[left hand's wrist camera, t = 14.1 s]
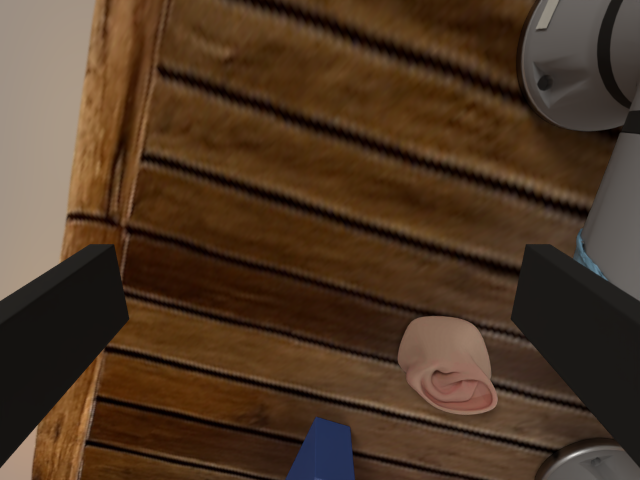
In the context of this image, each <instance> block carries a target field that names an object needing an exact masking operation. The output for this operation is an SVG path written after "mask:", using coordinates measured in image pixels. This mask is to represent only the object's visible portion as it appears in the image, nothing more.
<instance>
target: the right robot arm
mask: <svg viewBox="0 0 640 480" xmlns="http://www.w3.org/2000/svg"><path fill="white" fill-rule="evenodd" d="M535 480H640V468H639V467H638V465H637V464H636V463H635V462H634V461H633V460H632V459H631V457H630V456H629V455H628V454H627V453H626V452H625V450H624V449H623V448H622V447H621V446H620V445H619V444H618V442H617V441H616V440H612V439H602V438H599V439H588V440H583V441H579V442H576V443H573V444H570V445H568V446H566V447H564V448H562V449H560V450H558V451H557V452H555V453H554V454H553V455H551V456H550V457H549V458H548V459H547V460H546V461H545V462H544V463H543V464H542V466H541V467H540V468H539V470H538V472H537V474H536V477H535Z"/></svg>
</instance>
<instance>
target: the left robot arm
mask: <svg viewBox="0 0 640 480" xmlns="http://www.w3.org/2000/svg"><path fill="white" fill-rule="evenodd" d="M517 75H518V80H519V84H520V88H521V91H522V93H523V95H524V97H525V99H526V101H527V103H528V104H529V106H530V107H531V108H532V109H533V110H534V112H535V113H536V114H537V115H539V116H540V117H541V118H542V119H544V120H545V121H547V122H548V123H550V124H552V125H555V126H557V127H560V128H564V129H570V130H578V131H598V130H606V129H611V128H616V127H619V126H622V125H624V126H623V128H622V131H621V132H622V133H620V134H619V137H618V140H617V142H616V145H615V147H614V150H613V153H612V155H611V158H610V160H609V163H608V166H607V168H606V171H605V173H604V176H603V179H602V181H601V184H600V187H599V189H598V192H597V194H596V197H595V200H594V202H593V205H592V207H591V210H590V212H589V215H588V217H587V220H586V222H585V225H584V227H583V228H582V229H581V230H580V231H579V233H578V236H577V240H576V243H577V247H576V250H575V253H574V257H573V259H572V258H571V257H569V256H568V255H566V254H564V253H563V252H561V251H560V250H558V249H557V248H555V247H553V246H552V245H550V244H526V247H525V252H524V257H523V261H522V266H521V271H520V276H519V281H518V286H517V291H516V296H515V300H514V305H513V310H512V315H511V320H512V321H513V322H514V323H515V325H516V326H517V327H518V328H519V329H520V330H521V332H522V333H523V334H524V335H525V336H526V337H527V339H528V340H529V341H530V342H531V343H532V344H533V345H534V347H535V348H536V349H537V350H538V351H539V352H540V354H541V355H542V356H543V357H544V358H545V359H546V360H547V362H548V363H549V364H550V365H551V366H552V367H553V369H554V370H555V371H556V372H557V373H558V374H559V375H560V377H561V378H562V379H563V380H564V381H565V382H566V384H567V385H568V386H569V387H570V388H571V389H572V390H573V392H574V393H575V394H576V395H577V396H578V397H579V399H580V400H581V401H582V402H583V403H584V404H585V405H586V407H587V408H588V409H589V410H590V411H591V412H592V414H593V415H594V416H595V417H596V418H597V419H598V420H599V422H600V423H601V424H602V425H603V426H604V427H605V429H606V430H607V431H608V432H609V433H610V434H611V435H612V437H613V438H614V439H615V440H616V441H617V442H618V444H619V445H620V446H621V447H622V448H623V449H624V450H625V452H626V453H627V454H628V455H629V456H630V457H631V459H632V460H633V461H634V462H635V463H636V464H637V465H638V467H639V468H640V0H536V1H535V3H534V4H533V6H532V8H531V10H530V12H529V14H528V16H527V18H526V20H525V22H524V25H523V28H522V31H521V35H520V38H519V43H518V48H517ZM128 320H129V315H128V310H127V305H126V300H125V296H124V291H123V286H122V281H121V276H120V271H119V266H118V261H117V257H116V252H115V247H114V244H90V245H88V246H87V247H85V248H83V249H82V250H80V251H79V252H77V253H76V254H74V255H72V256H71V257H69V258H68V259H66V260H64V261H63V262H61V263H60V264H58V265H57V266H55V267H53V268H52V269H50V270H49V271H47V272H46V273H44V274H42V275H41V276H39V277H38V278H36V279H34V280H33V281H31V282H30V283H28V284H27V285H25V286H23V287H22V288H20V289H19V290H17V291H15V292H14V293H12V294H11V295H9V296H8V297H6V298H4V299H3V300H1V301H0V468H1V467H2V465H3V464H4V463H5V462H6V461H7V460H8V459H9V457H10V456H11V455H12V454H13V453H14V452H15V450H16V449H17V448H18V447H19V446H20V445H21V444H22V442H23V441H24V440H25V439H26V438H27V437H28V435H29V434H30V433H31V432H32V431H33V430H34V429H35V427H36V426H37V425H38V424H39V423H40V422H41V420H42V419H43V418H44V417H45V416H46V415H47V414H48V412H49V411H50V410H51V409H52V408H53V407H54V405H55V404H56V403H57V402H58V401H59V400H60V399H61V397H62V396H63V395H64V394H65V393H66V392H67V390H68V389H69V388H70V387H71V386H72V385H73V384H74V382H75V381H76V380H77V379H78V378H79V377H80V375H81V374H82V373H83V372H84V371H85V370H86V369H87V367H88V366H89V365H90V364H91V363H92V362H93V360H94V359H95V358H96V357H97V356H98V355H99V354H100V352H101V351H102V350H103V349H104V348H105V347H106V345H107V344H108V343H109V342H110V341H111V340H112V339H113V337H114V336H115V335H116V334H117V333H118V332H119V330H120V329H121V328H122V327H123V326H124V325H125V323H126V322H127V321H128Z"/></svg>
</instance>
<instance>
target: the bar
mask: <svg viewBox="0 0 640 480" xmlns="http://www.w3.org/2000/svg"><path fill="white" fill-rule="evenodd" d="M285 480H355V476H354V465H353V454H352V443H351V432H350V427H349V426H345V425H342V424H339V423H335V422H332V421H328V420H325V419H322V418H318V417H316V418H315V420H314V422H313V424H312V426H311V428H310V430H309V432H308V434H307V436H306V438H305V440H304V442H303V444H302V446H301V449H300V451H299V453H298V455H297V457H296V459H295V461H294V463H293V465H292V467H291V469H290V471H289V473H288V475H287V477H286V479H285Z"/></svg>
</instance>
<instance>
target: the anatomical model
mask: <svg viewBox="0 0 640 480" xmlns="http://www.w3.org/2000/svg"><path fill="white" fill-rule="evenodd" d="M398 363H399V365H400V367H401V368H402V369H403V370H404V372H405V373H406V380H407V382H408V384H409V385H410V386H411V387H412V388H413V389H414V390H415V391H416V392H417V393H418V394H419V395H420V396H421V397H422V398H423V399H425V400H426V401H427V402H428V403H429V404H431V405H432V406H434V407H435V408H437V409H440V410H442V411H445V412H449V413H454V414H461V415H471V414H479V413H484V412H487V411H490V410H492V409H493V408H494V407H495V406H496V405H497V402H498V397H497V393H496V390H495V388H494V386H493V384H492V382H491V381H490V378H491V366H490V360H489V356H488V352H487V349H486V345H485V343H484V340H483V338H482V336H481V334H480V332H479V330H478V329H477V328H476V327H475V326H474V325H473V324H471V323H470V322H468V321H465V320H462V319H458V318H453V317H444V316H426V317H420V318H417V319H415V320H413V321H412V322H411V323H410V324H409V326H408V327H407V329H406V331H405V333H404V336H403V338H402V341H401V344H400V347H399V352H398Z"/></svg>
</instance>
